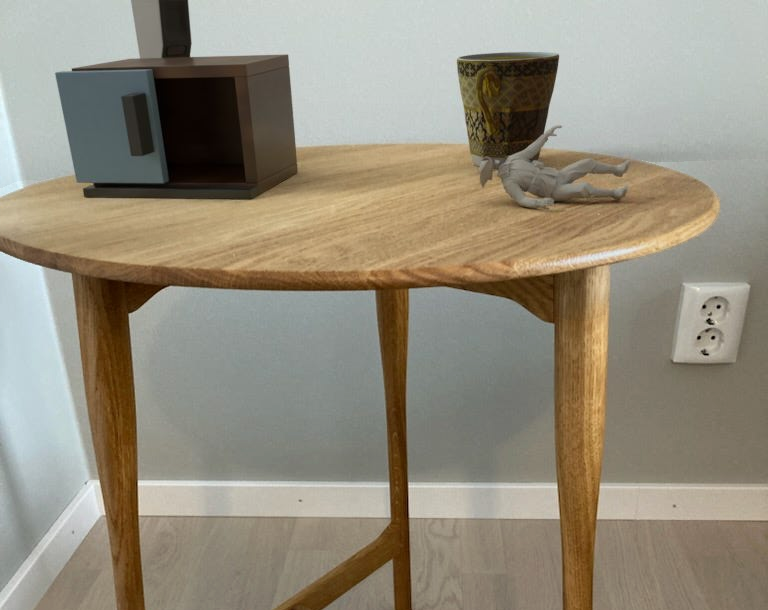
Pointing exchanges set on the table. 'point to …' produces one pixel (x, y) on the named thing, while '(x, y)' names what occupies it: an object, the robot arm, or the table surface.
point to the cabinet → (216, 126)
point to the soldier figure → (549, 177)
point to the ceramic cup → (505, 101)
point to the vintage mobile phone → (162, 28)
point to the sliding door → (113, 126)
